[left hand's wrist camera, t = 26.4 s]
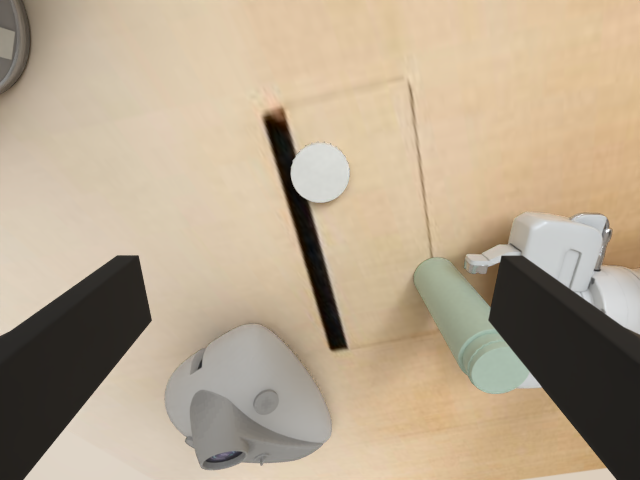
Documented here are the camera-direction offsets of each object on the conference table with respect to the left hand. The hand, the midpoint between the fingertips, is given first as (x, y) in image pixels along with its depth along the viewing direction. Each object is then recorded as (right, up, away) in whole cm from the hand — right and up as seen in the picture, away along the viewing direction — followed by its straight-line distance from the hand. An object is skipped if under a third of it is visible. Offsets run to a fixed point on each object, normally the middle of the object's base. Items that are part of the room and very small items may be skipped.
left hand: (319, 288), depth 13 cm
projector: (-8, -19, +37) cm, 42 cm away
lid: (0, +9, +24) cm, 26 cm away
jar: (+15, -3, +31) cm, 34 cm away
